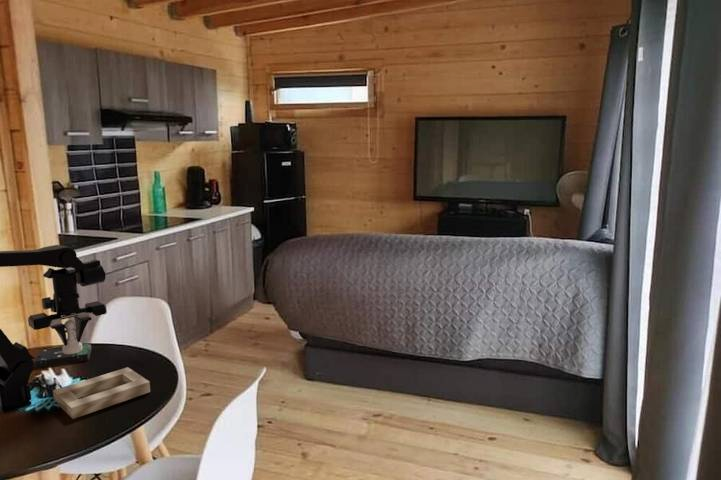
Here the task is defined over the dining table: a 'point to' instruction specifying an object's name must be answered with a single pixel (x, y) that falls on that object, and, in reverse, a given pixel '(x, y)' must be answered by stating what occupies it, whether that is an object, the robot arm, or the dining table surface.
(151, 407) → the dining table surface
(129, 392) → the wooden rectangular frame
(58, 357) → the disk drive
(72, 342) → the chess pawn
